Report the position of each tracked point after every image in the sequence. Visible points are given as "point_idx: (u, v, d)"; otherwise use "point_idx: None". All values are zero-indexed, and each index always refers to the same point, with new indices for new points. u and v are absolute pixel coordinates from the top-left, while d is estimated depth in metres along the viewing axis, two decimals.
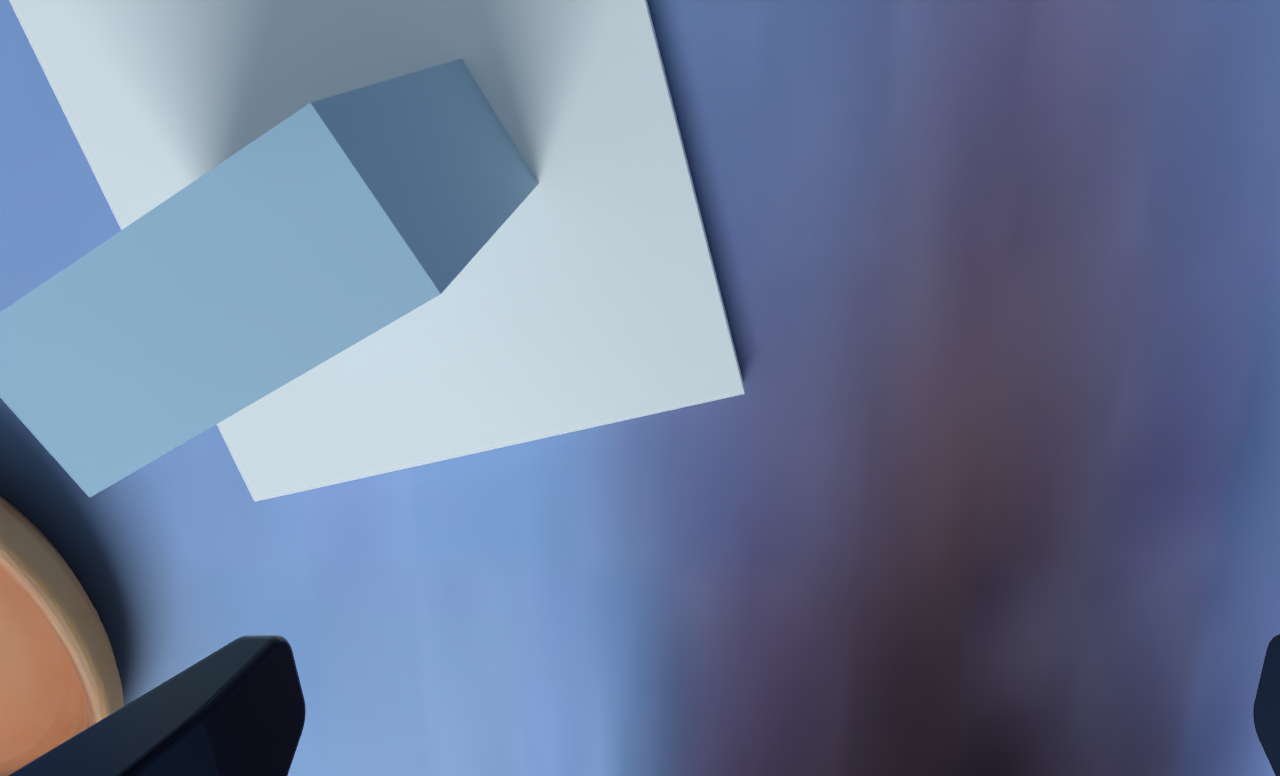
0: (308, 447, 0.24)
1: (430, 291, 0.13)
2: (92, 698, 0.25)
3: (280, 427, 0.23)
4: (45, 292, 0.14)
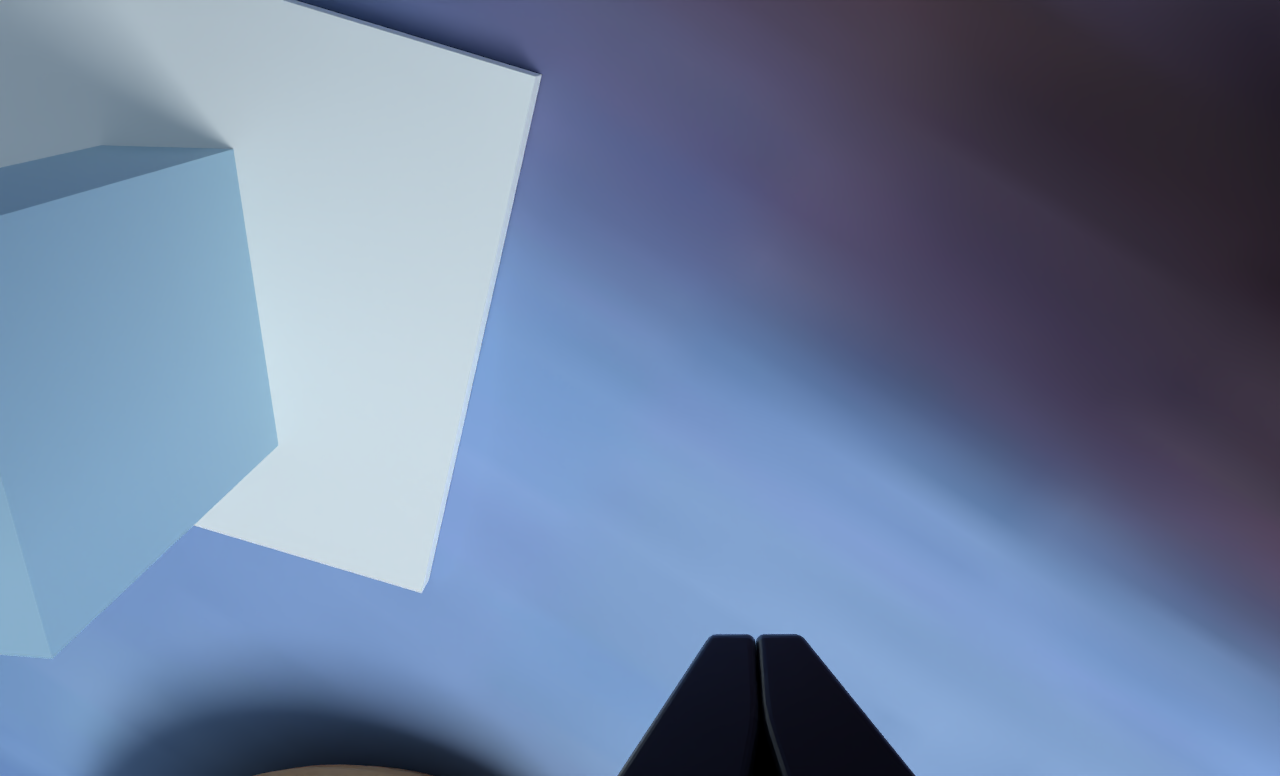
0: (391, 512, 0.23)
1: None
2: None
3: (361, 521, 0.23)
4: None
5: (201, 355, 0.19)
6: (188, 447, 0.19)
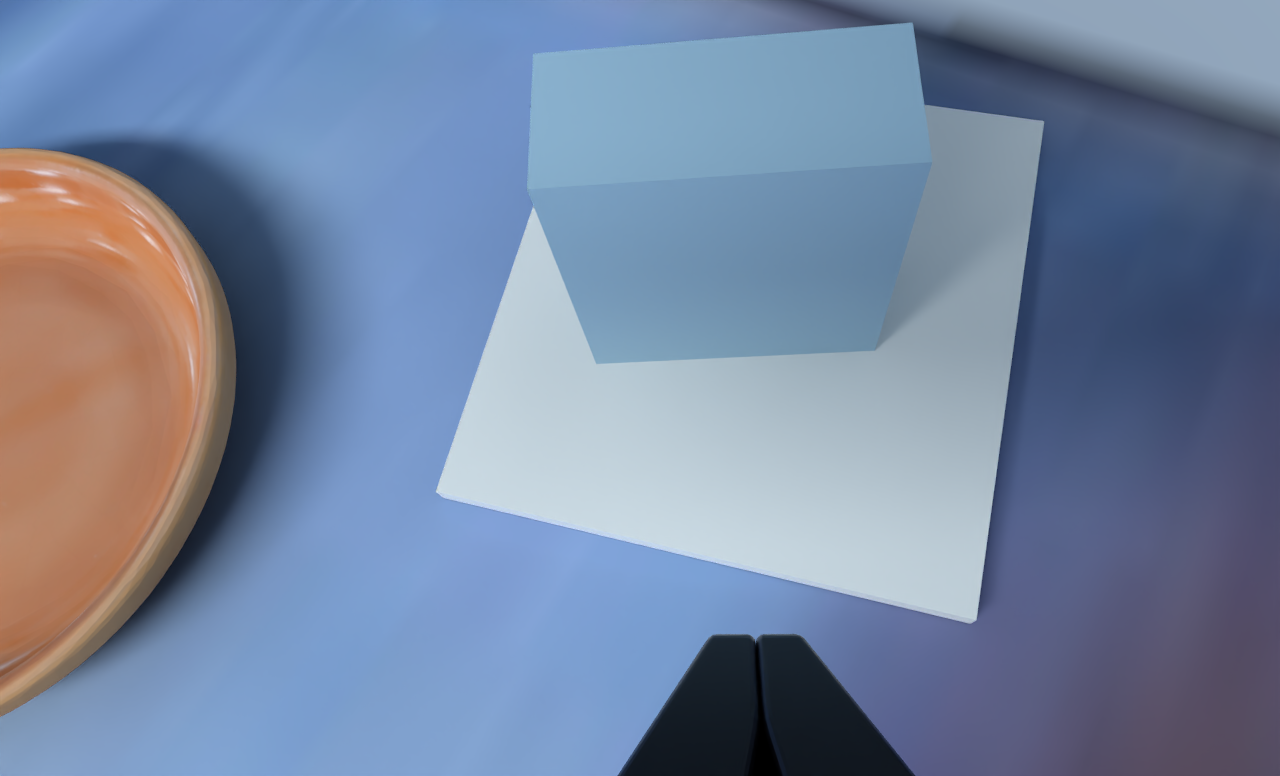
0: (527, 465, 0.23)
1: (925, 157, 0.16)
2: (132, 569, 0.21)
3: (517, 436, 0.23)
4: (633, 49, 0.17)
5: (719, 315, 0.21)
6: (644, 299, 0.21)
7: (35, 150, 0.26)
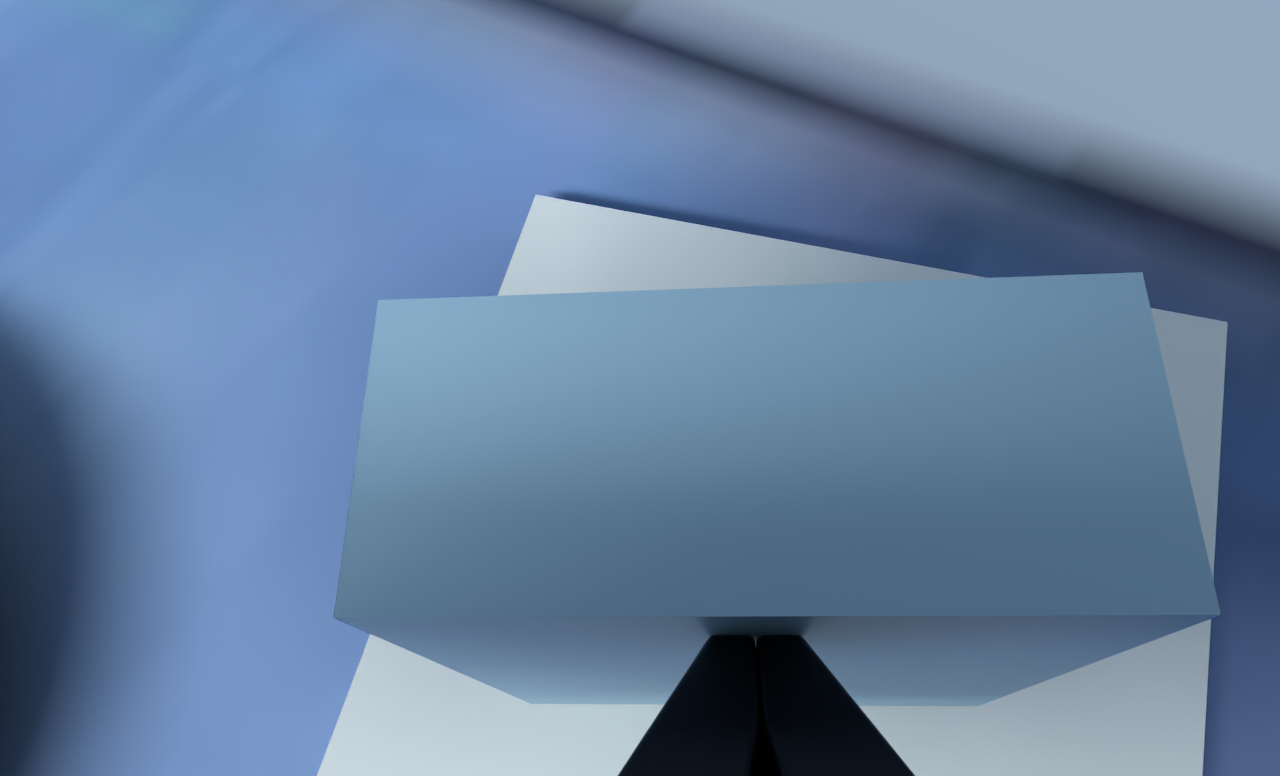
0: None
1: (1203, 601, 0.07)
2: None
3: None
4: (574, 302, 0.09)
5: None
6: (600, 679, 0.12)
7: None
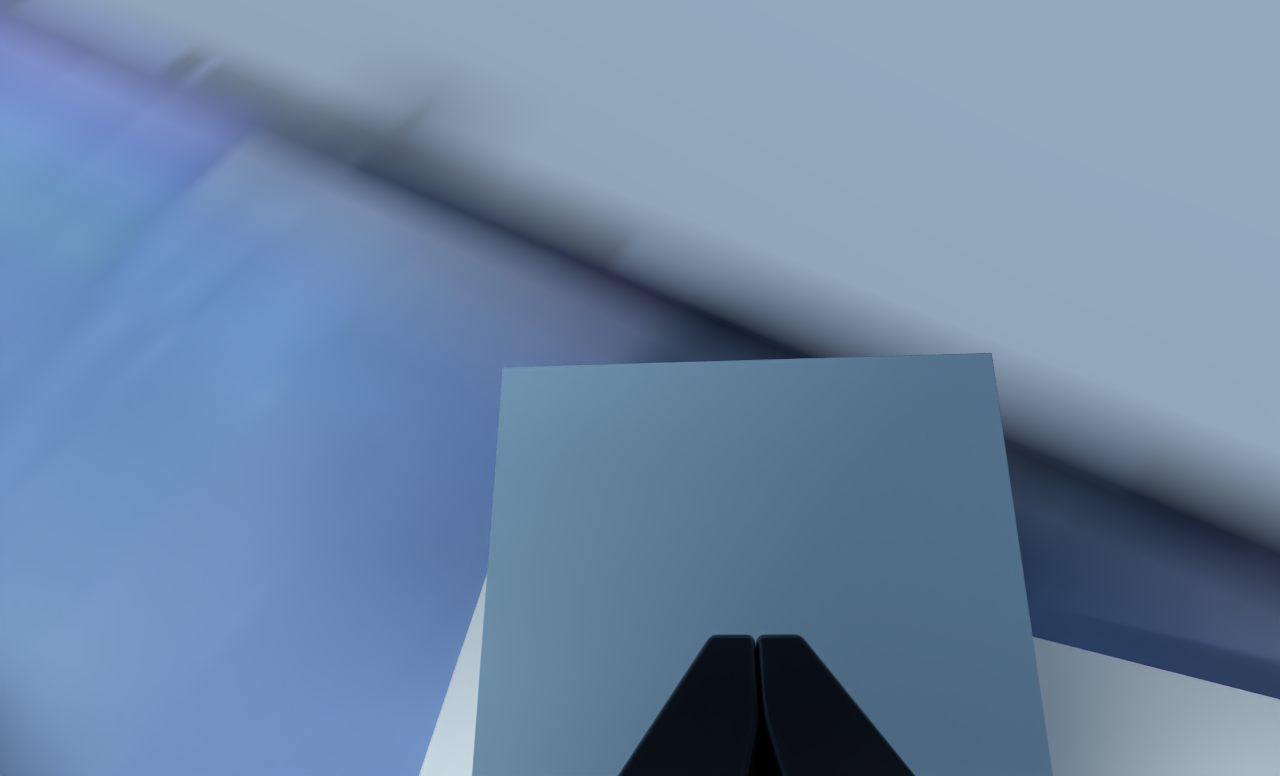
0: None
1: None
2: None
3: None
4: None
5: None
6: (602, 690, 0.12)
7: None
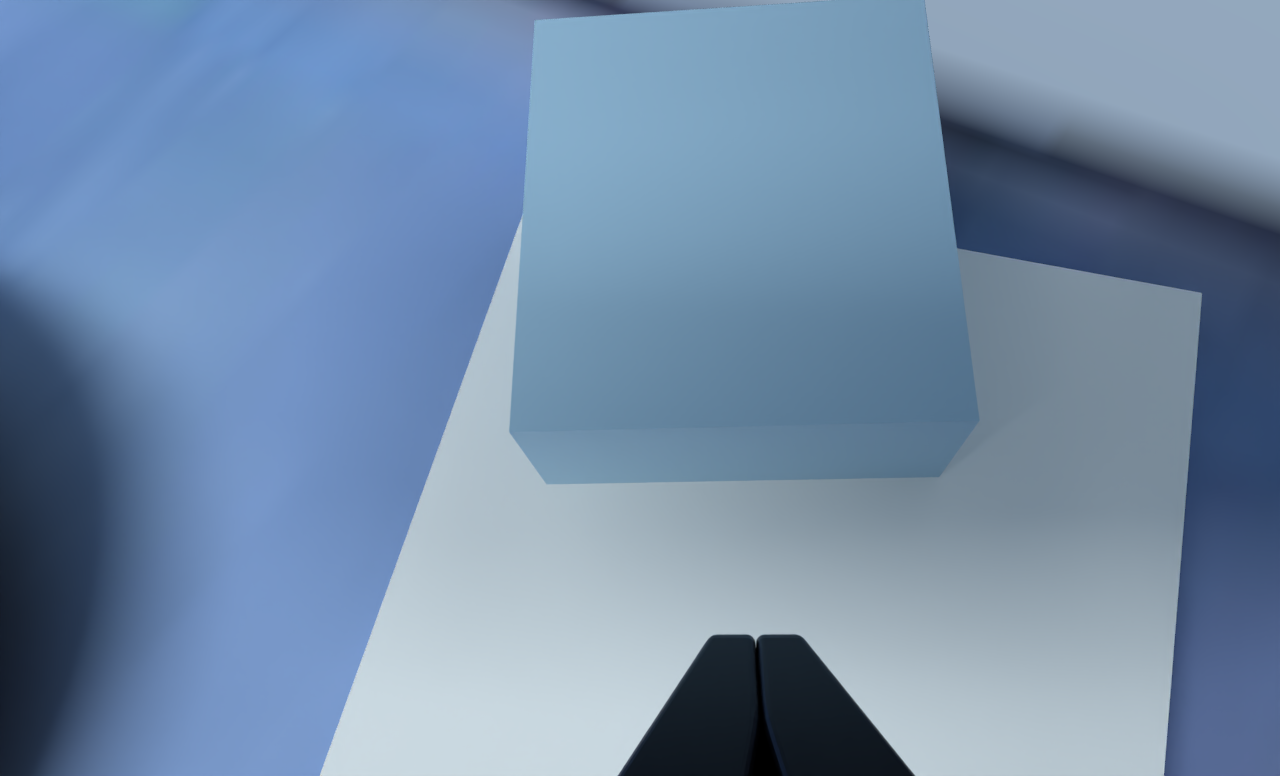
0: None
1: None
2: None
3: (415, 774, 0.16)
4: None
5: (717, 281, 0.15)
6: (617, 230, 0.15)
7: None
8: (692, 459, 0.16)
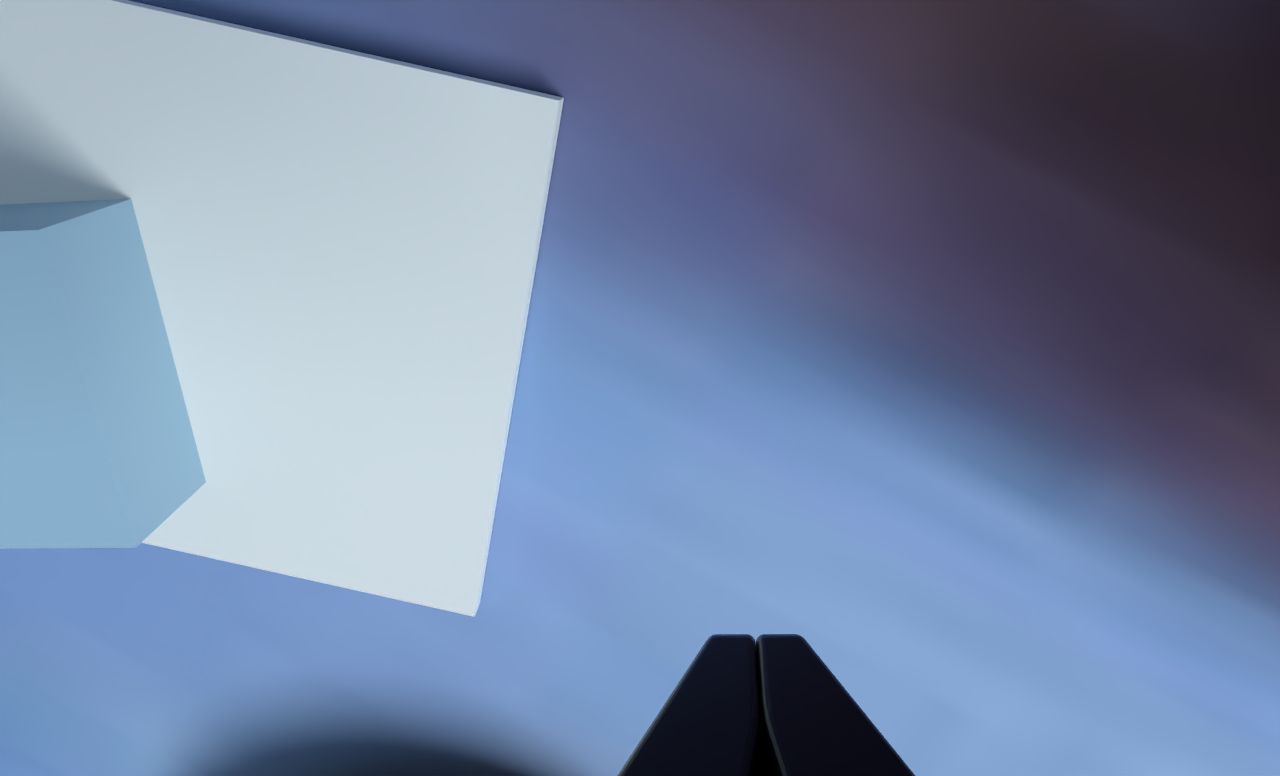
0: (440, 539, 0.23)
1: None
2: None
3: (411, 550, 0.23)
4: None
5: None
6: None
7: None
8: (146, 402, 0.21)
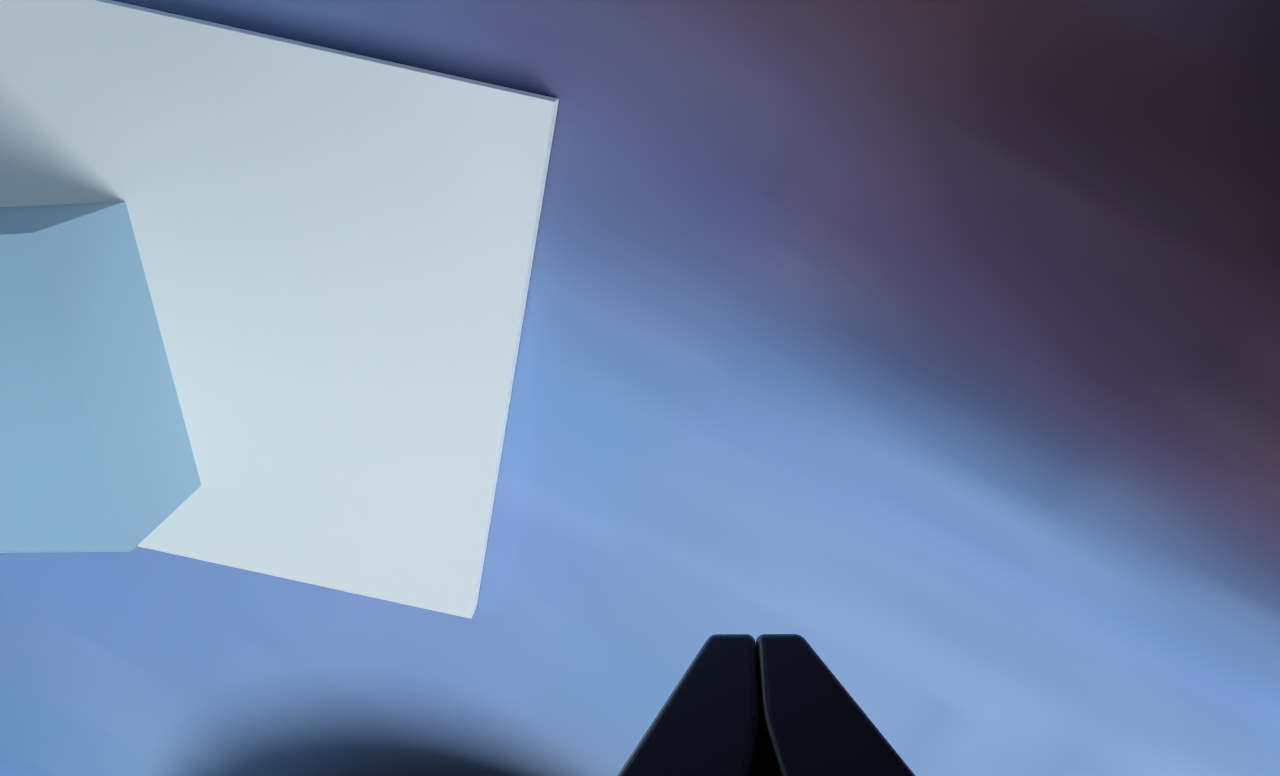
0: (437, 541, 0.23)
1: None
2: None
3: (408, 552, 0.23)
4: None
5: None
6: None
7: None
8: (141, 406, 0.21)
